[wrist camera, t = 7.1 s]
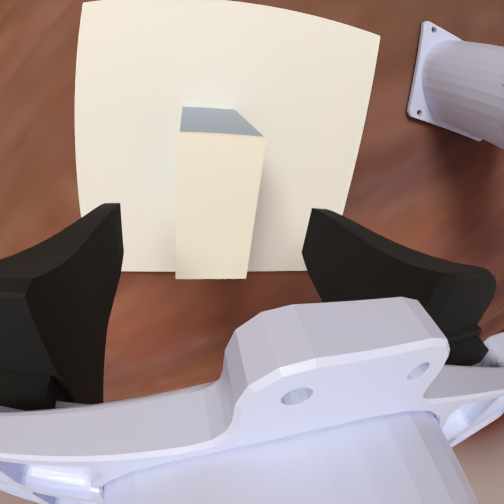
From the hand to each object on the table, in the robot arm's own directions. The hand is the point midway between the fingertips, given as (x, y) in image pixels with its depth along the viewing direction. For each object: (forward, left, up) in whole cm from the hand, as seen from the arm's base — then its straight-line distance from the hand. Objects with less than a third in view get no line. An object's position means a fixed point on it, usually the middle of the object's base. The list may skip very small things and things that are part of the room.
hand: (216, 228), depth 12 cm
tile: (-1, -1, -9) cm, 10 cm away
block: (0, 0, -8) cm, 8 cm away
